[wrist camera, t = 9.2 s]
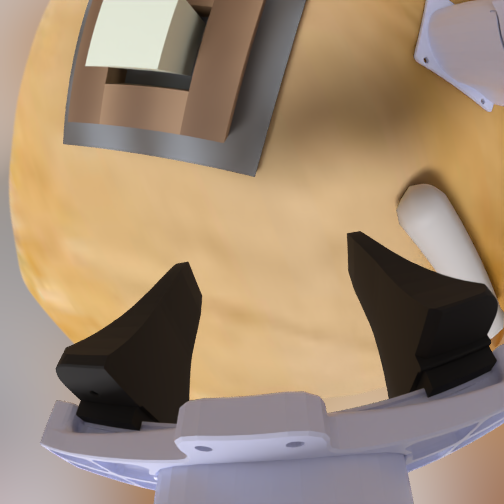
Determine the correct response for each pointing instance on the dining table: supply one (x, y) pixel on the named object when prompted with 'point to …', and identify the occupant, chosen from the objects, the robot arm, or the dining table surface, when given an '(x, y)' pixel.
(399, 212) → the tube
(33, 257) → the dining table surface
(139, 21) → the peg
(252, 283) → the dining table surface
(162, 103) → the socket
